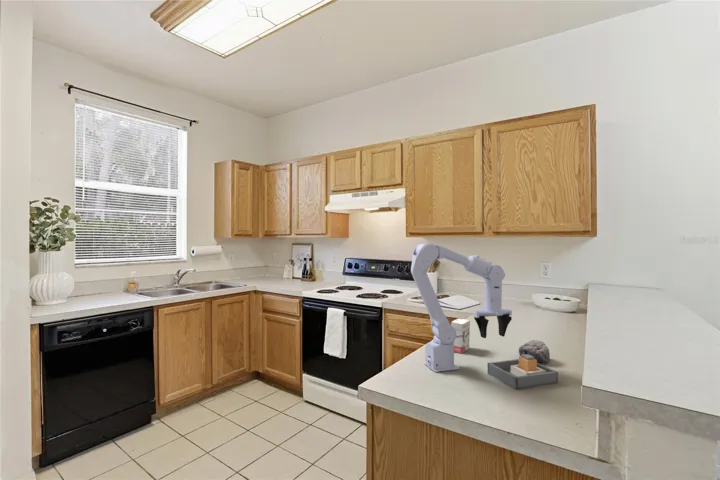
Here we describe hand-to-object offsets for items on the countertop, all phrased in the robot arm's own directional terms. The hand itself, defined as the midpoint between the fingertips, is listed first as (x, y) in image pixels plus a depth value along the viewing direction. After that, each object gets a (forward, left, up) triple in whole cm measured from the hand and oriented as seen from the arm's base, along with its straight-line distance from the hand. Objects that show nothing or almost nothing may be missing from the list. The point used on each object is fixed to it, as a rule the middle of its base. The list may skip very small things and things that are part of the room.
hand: (492, 336), depth 120 cm
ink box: (-1, +18, -11) cm, 21 cm away
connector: (+4, -12, -10) cm, 16 cm away
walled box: (+2, -12, -10) cm, 16 cm away
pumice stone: (+18, 0, -11) cm, 21 cm away
